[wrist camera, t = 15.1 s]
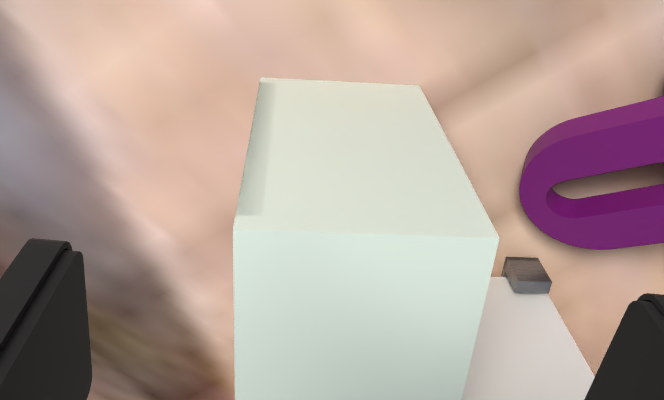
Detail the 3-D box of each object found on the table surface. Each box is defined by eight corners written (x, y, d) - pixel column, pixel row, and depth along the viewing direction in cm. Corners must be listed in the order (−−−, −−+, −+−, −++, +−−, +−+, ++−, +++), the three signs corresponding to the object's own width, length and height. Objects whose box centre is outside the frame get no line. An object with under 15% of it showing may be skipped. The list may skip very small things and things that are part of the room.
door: (538, 278, 46) (624, 428, 34) (528, 313, 48) (606, 468, 36) (407, 274, 46) (446, 426, 33) (401, 310, 47) (437, 467, 35)
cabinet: (419, 85, 39) (499, 237, 23) (393, 266, 46) (442, 480, 30) (260, 77, 38) (232, 228, 23) (258, 263, 45) (235, 479, 29)
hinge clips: (537, 257, 46) (557, 290, 42) (521, 314, 49) (539, 350, 45) (413, 254, 45) (422, 287, 42) (404, 311, 48) (412, 347, 44)
